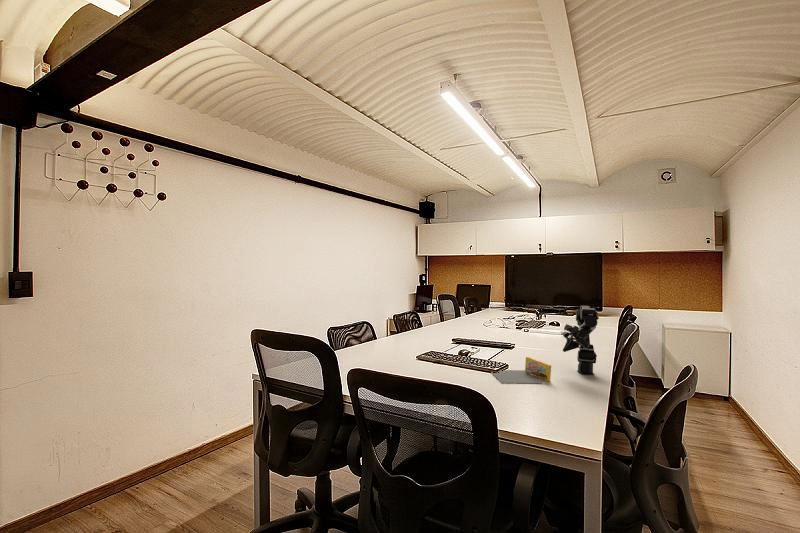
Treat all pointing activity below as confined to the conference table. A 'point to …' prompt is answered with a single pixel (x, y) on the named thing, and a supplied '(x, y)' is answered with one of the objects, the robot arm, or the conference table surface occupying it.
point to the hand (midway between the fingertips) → (563, 351)
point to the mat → (516, 377)
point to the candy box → (538, 368)
